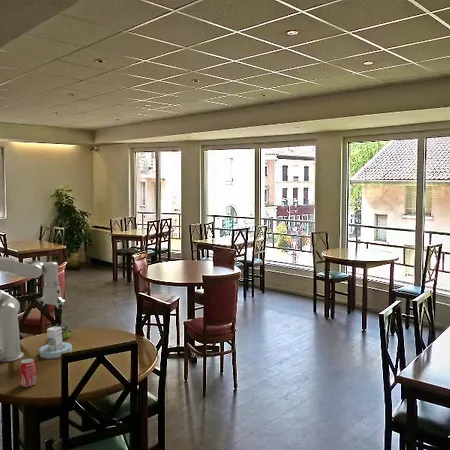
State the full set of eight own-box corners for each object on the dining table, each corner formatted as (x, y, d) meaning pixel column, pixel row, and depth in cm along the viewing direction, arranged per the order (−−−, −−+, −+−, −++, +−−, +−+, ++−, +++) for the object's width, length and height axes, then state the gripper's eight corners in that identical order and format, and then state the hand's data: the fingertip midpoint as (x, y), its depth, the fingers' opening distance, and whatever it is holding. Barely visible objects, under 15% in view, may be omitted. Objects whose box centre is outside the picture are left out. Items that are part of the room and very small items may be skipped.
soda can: (23, 381, 232) (22, 358, 231) (38, 381, 233) (37, 357, 232) (18, 388, 225) (17, 363, 224) (34, 387, 226) (32, 362, 225)
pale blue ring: (56, 360, 259) (55, 354, 259) (33, 355, 267) (32, 350, 266) (78, 349, 275) (77, 344, 274) (55, 345, 282) (55, 340, 282)
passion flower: (58, 346, 297) (54, 328, 302) (75, 340, 300) (71, 322, 305) (55, 341, 287) (51, 322, 292) (73, 335, 290) (69, 317, 295)
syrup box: (63, 351, 272) (61, 326, 271) (56, 355, 267) (54, 329, 265) (55, 350, 274) (53, 325, 273) (48, 354, 269) (46, 329, 267)
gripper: (68, 284, 266) (69, 314, 268) (45, 281, 273) (46, 310, 275) (58, 287, 259) (59, 317, 261) (34, 284, 267) (35, 313, 268)
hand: (52, 314), depth 268 cm, fingers open, 9 cm apart
